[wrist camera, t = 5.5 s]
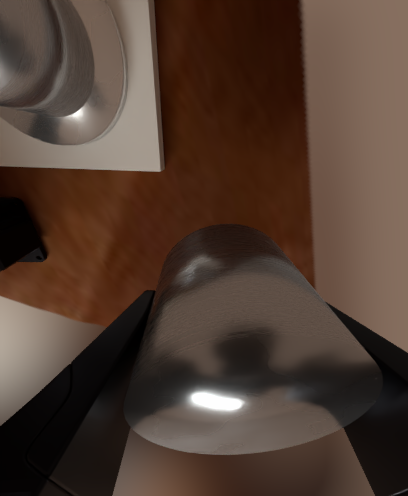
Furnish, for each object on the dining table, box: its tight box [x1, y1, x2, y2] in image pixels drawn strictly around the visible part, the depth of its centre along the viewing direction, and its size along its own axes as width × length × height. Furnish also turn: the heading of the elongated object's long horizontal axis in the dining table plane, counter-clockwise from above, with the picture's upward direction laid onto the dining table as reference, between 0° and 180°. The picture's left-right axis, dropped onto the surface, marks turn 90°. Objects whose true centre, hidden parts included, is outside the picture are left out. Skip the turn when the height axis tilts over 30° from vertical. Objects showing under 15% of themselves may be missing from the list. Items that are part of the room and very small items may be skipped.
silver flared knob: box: [123, 224, 383, 455], centre depth 7 cm, size 6×6×5 cm
